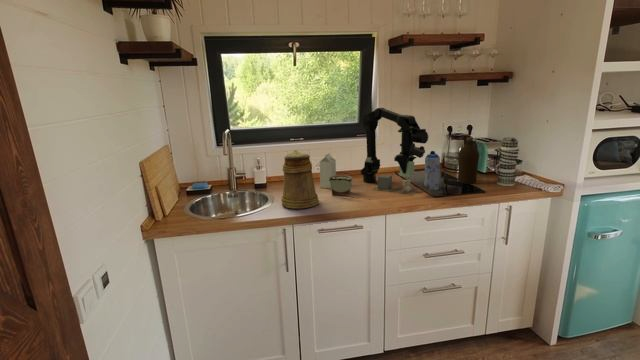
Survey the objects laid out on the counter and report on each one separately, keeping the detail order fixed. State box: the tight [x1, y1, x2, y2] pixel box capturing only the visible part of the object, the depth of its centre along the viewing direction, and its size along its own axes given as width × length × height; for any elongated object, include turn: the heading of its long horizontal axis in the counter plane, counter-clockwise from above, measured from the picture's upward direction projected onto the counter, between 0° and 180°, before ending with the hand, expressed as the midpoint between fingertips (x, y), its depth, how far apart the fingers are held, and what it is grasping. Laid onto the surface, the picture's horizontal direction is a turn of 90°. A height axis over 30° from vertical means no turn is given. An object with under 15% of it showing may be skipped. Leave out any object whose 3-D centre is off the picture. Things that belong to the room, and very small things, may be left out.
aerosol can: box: [423, 150, 441, 191], centre depth 185 cm, size 8×8×20 cm
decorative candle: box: [496, 136, 520, 187], centre depth 185 cm, size 9×9×25 cm
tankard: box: [281, 149, 320, 210], centre depth 170 cm, size 18×24×25 cm
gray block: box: [377, 174, 393, 190], centre depth 185 cm, size 6×6×7 cm
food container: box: [329, 174, 353, 198], centre depth 181 cm, size 12×6×10 cm, turn 71°
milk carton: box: [318, 152, 337, 189], centre depth 196 cm, size 7×7×19 cm
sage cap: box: [398, 161, 415, 178], centre depth 176 cm, size 6×6×7 cm
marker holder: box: [371, 179, 421, 196], centre depth 182 cm, size 22×12×7 cm, turn 56°
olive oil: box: [457, 136, 480, 185], centre depth 193 cm, size 11×11×25 cm
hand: (406, 172), depth 176 cm, fingers closed on sage cap, 6 cm apart
